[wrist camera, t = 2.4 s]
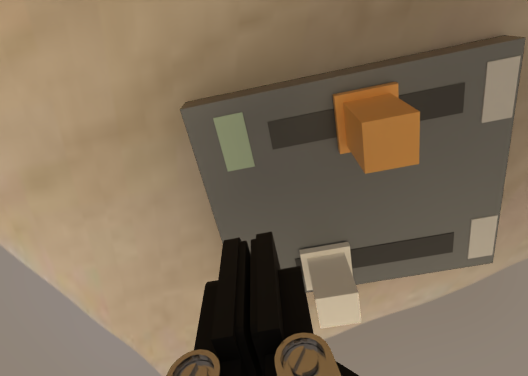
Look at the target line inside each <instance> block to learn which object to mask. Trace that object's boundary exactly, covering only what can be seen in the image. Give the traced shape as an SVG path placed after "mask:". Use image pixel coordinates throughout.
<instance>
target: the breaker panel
mask: <svg viewBox="0 0 528 376" xmlns="http://www.w3.org/2000/svg"><path fill="white" fill-rule="evenodd" d="M524 45H525V37H515V36H505V35H504V36H499V37H495V38H490V39H485V40H480V41H475V42H471V43H466V44H461V45H456V46H452V47H447V48H442V49H437V50H432V51H428V52H423V53H418V54H413V55H409V56H404V57H399V58H394V59H390V60H385V61H380V62H375V63H370V64H366V65H361V66H356V67H351V68H347V69H342V70H337V71H332V72H327V73H323V74H318V75H313V76H308V77H304V78H299V79H294V80H289V81H284V82H280V83H275V84H270V85H265V86H261V87H256V88H251V89H246V90H242V91H237V92H232V93H227V94H222V95H218V96H213V97H208V98H203V99H199V100H194V101H189V102H185V104H184V105H183V106H182V108H181V109H180V111H181V114H182V117H183V120H184V124H185V127H186V130H187V133H188V136H189V139H190V142H191V145H192V149H193V152H194V155H195V158H196V161H197V164H198V167H199V171H200V174H201V177H202V180H203V183H204V186H205V189H206V192H207V196H208V199H209V202H210V205H211V208H212V211H213V214H214V218H215V221H216V224H217V227H218V230H219V233H220V236H221V239H222V243H223V242H224V240H228V239H233V238H239V237H240V239H241V241H247V243H248V247H249V250H250V254H251V239H256V234H261V233H266V232H271V231H272V234H273V238H274V242H275V246H276V251H277V255H278V260H279V264H280V268H281V269H285V268H290V267H296V266H301V271H302V276H303V282H304V287H305V292H306V293H307V292H313V290H309V291H307V288H306V283H305V278H304V273H303V267H302V262H301V257H300V251H299V250H302V249H307V248H313V247H319V246H325V245H331V244H337V243H343V242H348V243H349V245H350V253H351V262H352V272H353V279H354V281H355V284H356V285H357V284H363V283H370V282H376V281H382V280H389V279H395V278H401V277H407V276H414V275H420V274H426V273H433V272H439V271H445V270H451V269H458V268H464V267H470V266H476V265H483V264H489V263H493V258H494V251H495V244H496V237H497V230H498V224H499V217H500V210H501V203H502V196H503V189H504V182H505V176H506V169H507V162H508V155H509V148H510V141H511V134H512V127H513V121H514V114H515V107H516V100H517V93H518V86H519V79H520V73H521V66H522V59H523V52H524ZM391 82H397V83H398V91H399V99H401V100H402V101H404V102H405V103H407V104H409V105H410V106H412V107H413V108H415V109H417V110H418V111H420V146H419V164H416V165H411V166H405V167H400V168H394V169H389V170H383V171H378V172H373V173H367V174H365V173H364V171H363V170H362V168H361V167H360V165H359V164H358V162H357V161H356V159H355V158H354V156H353V155H352V153H351V152H350V153H344V154H340V153H339V151H338V141H337V132H336V123H335V113H334V104H333V94H337V93H342V92H347V91H352V90H357V89H361V88H366V87H371V86H376V85H381V84H386V83H391Z"/></svg>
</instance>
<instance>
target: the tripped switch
mask: <svg viewBox="0 0 528 376" xmlns="http://www.w3.org/2000/svg"><path fill="white" fill-rule="evenodd" d="M333 104H334V113H335V123H336V132H337V141H338V151H339V153H340V154H344V153H350V152H351V153H352V155H353V156H354V158H355V159H356V161H357V162H358V164H359V165H360V167H361V168H362V170H363V171H364V173H365V174H367V173H373V172H378V171H383V170H389V169H394V168H400V167H405V166H411V165H416V164H419V146H420V111H418V110H417V109H415V108H413V107H412V106H410V105H409V104H407V103H405V102H404V101H402V100H401V99H399V91H398V83H397V82H391V83H386V84H381V85H376V86H371V87H366V88H361V89H357V90H352V91H347V92H342V93H337V94H333Z"/></svg>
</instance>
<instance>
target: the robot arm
mask: <svg viewBox="0 0 528 376" xmlns="http://www.w3.org/2000/svg"><path fill="white" fill-rule="evenodd" d="M166 376H358V375H357V374H356V373H354V372H352V371H351V370H349V369H348V368H346V367H344V366H343V365H341V364H340V363H338V362H336V361H335V359H334V356H333V354H332V352H331V349H330V348H329V346H328V344H327V343H326V341H324V340H323V339H322V338H321V337H319V336H317V335H315V334H313V329H312V323H311V318H310V313H309V308H308V302H307V297H306V292H305V287H304V282H303V276H302V271H301V266H296V267H290V268H285V269H281V268H280V264H279V260H278V255H277V251H276V246H275V242H274V238H273V234H272V231H271V232H266V233H261V234H256V239H251V254H250V250H249V247H248V243H247V241H241V239H240V237H239V238H233V239H228V240H224V242H223V248H222V256H221V264H220V272H219V280H217V281H211V282H207V283H206V285H205V290H204V296H203V301H202V307H201V313H200V319H199V324H198V330H197V336H196V342H195V347H194V351H191V352H188V353H186V354H184V355H183V356H181V357H180V358H179V359H177V360H176V362H175V363H174V364H173V365H172V366H171V368H170V369H169V371H168V373H167V375H166Z"/></svg>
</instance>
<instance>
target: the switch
mask: <svg viewBox="0 0 528 376" xmlns="http://www.w3.org/2000/svg"><path fill="white" fill-rule="evenodd" d="M299 251H300V257H301V262H302V267H303V273H304V278H305V283H306V288H307V291H309V290H313V293H314V299H315V304H316V309H317V314H318V319H319V324H320V329H322V328H328V327H335V326H342V325H348V324H355V323H361V314H360V303H359V293H358V290H357V287H356V284H355V281H354V279H353V272H352V262H351V253H350V245H349V243H348V242H343V243H337V244H331V245H325V246H319V247H313V248H307V249H302V250H299Z"/></svg>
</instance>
